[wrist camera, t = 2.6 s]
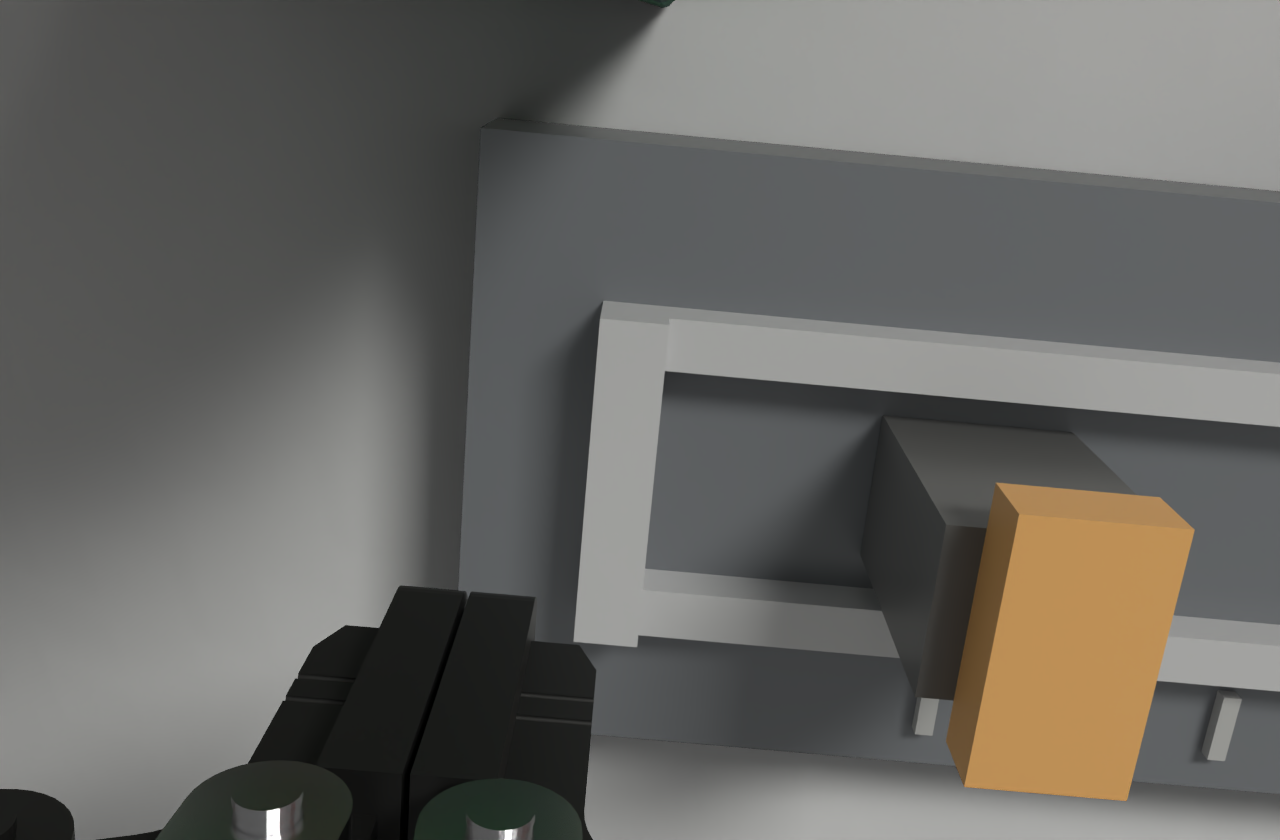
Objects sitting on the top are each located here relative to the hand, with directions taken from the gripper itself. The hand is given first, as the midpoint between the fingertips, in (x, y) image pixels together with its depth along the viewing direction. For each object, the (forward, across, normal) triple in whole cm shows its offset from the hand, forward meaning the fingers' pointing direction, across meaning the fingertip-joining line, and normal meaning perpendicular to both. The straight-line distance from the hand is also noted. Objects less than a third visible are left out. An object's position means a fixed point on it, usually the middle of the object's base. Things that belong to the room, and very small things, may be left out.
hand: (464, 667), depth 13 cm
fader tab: (+6, -7, 0) cm, 10 cm away
